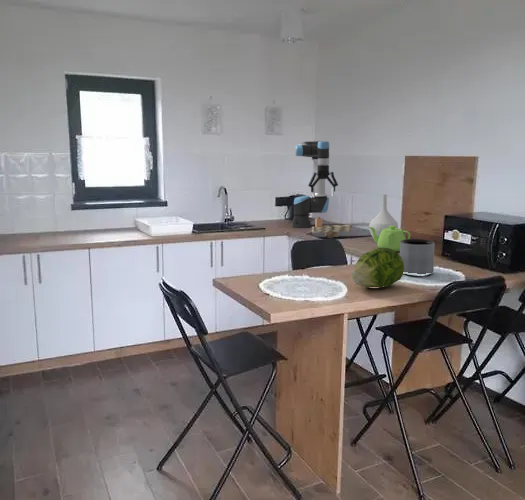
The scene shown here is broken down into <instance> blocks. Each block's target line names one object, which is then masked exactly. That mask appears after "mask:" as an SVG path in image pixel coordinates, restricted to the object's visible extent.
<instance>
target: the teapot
mask: <svg viewBox="0 0 525 500" xmlns="http://www.w3.org/2000/svg"><path fill="white" fill-rule="evenodd" d="M389 227H390V228H385V229H383V230H382V232H381V234H380V236H379V237H378V236H377V235H376V231H375V229H374V228H373V227H369V226H368V229H369V228H370V229H371V230H372V233H373V237H372V238H373V240H374V242H375V243H377V244H376V245H377V247H378V248H390V249H393V250H394V251H396V252H397V253H398V252H400V241H401V240H405V239H411V232H410V231H408V230H403V229H402V228H399V227H398V228H396V226H389ZM405 233H406V234H407V236H408V237H407V238H406V235H405Z"/></svg>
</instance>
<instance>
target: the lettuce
mask: <svg viewBox="0 0 525 500" xmlns="http://www.w3.org/2000/svg"><path fill="white" fill-rule="evenodd" d="M403 272H404V263H403V260H402V258H401V256H400V253H398V252H396V251H394V250H393V249H390V248H379V247H378V248H375V249H373V250H371V251H367V252H365V253H363V254H362V255H361V256H360V257H359V259H358V260H357V262H356V263H355V265H354V267H353V269H352V272H351V279H352V281H353V282H354V283H355V284H356V285H358V286H359V287H360V286H361V287H364V286H365V287H364V288H367V287H383V286H388V287H391V286H392V285H393V284H395V283H397V282H398V281H400V280H401V279H402V278H403V275H404V274H403Z"/></svg>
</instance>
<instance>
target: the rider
mask: <svg viewBox="0 0 525 500" xmlns="http://www.w3.org/2000/svg"><path fill="white" fill-rule="evenodd" d="M314 223H315V224H314V225H315V227H322V226H323V218H321V217H320V216H318V217H316V218H315V220H314Z"/></svg>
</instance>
